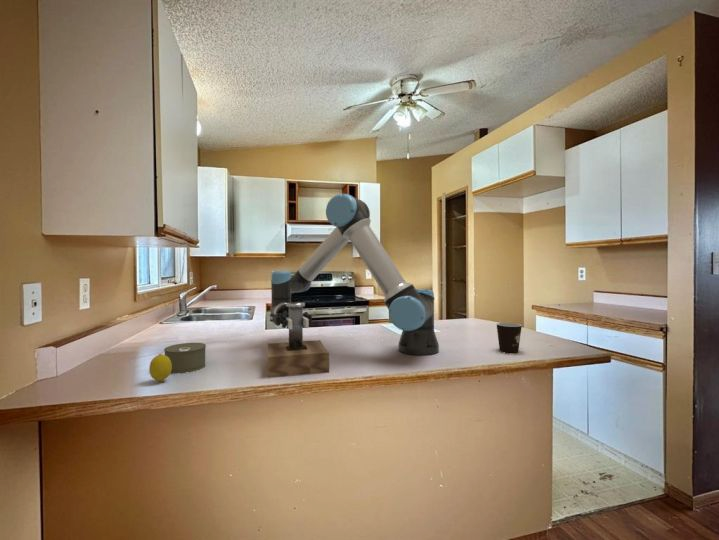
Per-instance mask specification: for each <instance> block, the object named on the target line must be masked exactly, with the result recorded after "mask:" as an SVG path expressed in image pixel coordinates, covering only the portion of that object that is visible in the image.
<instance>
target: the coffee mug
mask: <svg viewBox="0 0 719 540" xmlns="http://www.w3.org/2000/svg"><path fill="white" fill-rule="evenodd" d="M522 326H523V325H522V324H520V323H517V322H498V323H496V329H497V330H496V331H497V339H498V349H499V352H500V351H501V353H503V352H505V353H504V354H509V353H515V354H518V353H519V350H520V344H521V343H520V341H521V333H522Z"/></svg>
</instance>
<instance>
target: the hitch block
mask: <svg viewBox="0 0 719 540" xmlns="http://www.w3.org/2000/svg"><path fill="white" fill-rule="evenodd" d="M324 373H330V352H329V350H328V349H327V347H326V346H325V345H324V344H323V342H322V340H320V339H319V340H318V339H317V340H303V346H302V347H300V348H290V347H289V341H287V342H272V343H271V342H270V343H267V377H269V378H277V377H289V376H290V377H291V376H300V375H301V376H302V375H313V374H324Z"/></svg>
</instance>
